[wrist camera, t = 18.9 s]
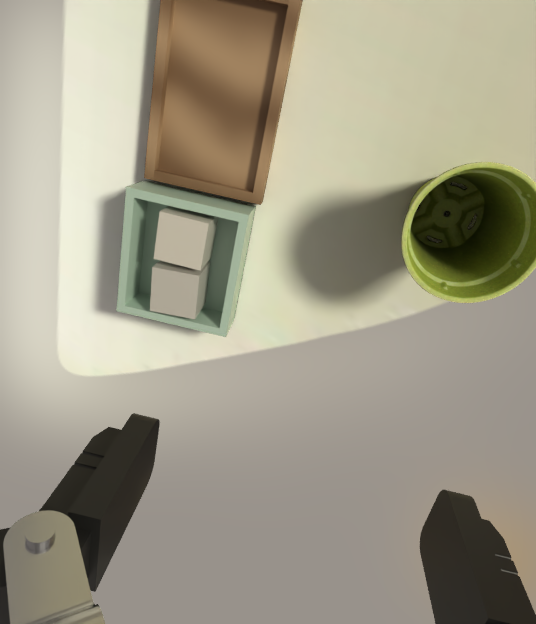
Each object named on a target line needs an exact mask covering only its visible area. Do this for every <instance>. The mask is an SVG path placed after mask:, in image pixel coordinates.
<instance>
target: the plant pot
mask: <svg viewBox="0 0 536 624" xmlns="http://www.w3.org/2000/svg"><path fill="white" fill-rule="evenodd" d="M452 182H456V183H459V184H460V183H462V184H464V185H465V186H466V187H467V189H466V190H463V189H461V188H459V187H456V186H451V185H450V183H452ZM423 199H424V200H423ZM422 200H423V201H422ZM421 202H422V203H421ZM420 203H421V205H420ZM419 205H420V208H419V211H418V212H416V210H417V208H418V206H419ZM445 211H449V212H450V215H449V216H448V217H445V216H444V212H445ZM474 214H476V215H477V217H476V222H475V224H474V226H473V227H472V228H471V229H470V230H469V229H467V227H468V226H469V224H470V222H471V221H472V219H473V217H474ZM427 236H431V237H433V238H435V239H439V240H442V242H440V243H436V242H432V241H430V240H428V238H427ZM401 248H402V254H403V259H404V262H405V264H406V267H407V269H408V271H409V273H410V275H411V276H412V278H413V279H414V280H415V281H416V283H417V284H418V285H419V286H421V287H422V288H423V289H424V290H425V291H427V292H428V293H430V294H432V295H434V296H436V297H438V298H441V299H444V300H447V301H451V302H457V303H474V302H481V301H485V300H489V299H493V298H495V297H498V296H500V295H503V294H504V293H506V292H508V291H510V290H512V289H513V288H515V287H516V286H518V285H519V284H520V283H521V282H523V281H524V280H525V279H526V278H527V277H528V276H529V275H530V274H531V272H532V271H533V270H534V269H535V268H536V183H535V182H534V181H533V180H532V179H531V178H530V177H529V176H528V175H526V174H525V173H523V172H521V171H520V170H518V169H516V168H513V167H511V166H508V165H504V164H500V163H493V162H477V163H470V164H465V165H462V166H458V167H455V168H453V169H451V170H448V171H446V172H444V173H443V174H441V175H439V176H438V177H436V178H434V179H432V180H430V181H428V182H427V183H425V184H424V185H423V186H422V187H421V188H420V189H419V190H418V191H417V192H416V194H415V195H414V196H413V198H412V200H411V203H410V205H409V210H408V212H407V215H406V217H405V221H404V224H403V229H402V237H401Z"/></svg>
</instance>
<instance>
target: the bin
mask: <svg viewBox="0 0 536 624" xmlns="http://www.w3.org/2000/svg"><path fill="white" fill-rule="evenodd" d="M168 206H172V207H177V208H181V209H185V210H190V211H194V212H198V213H203V214H207V215H211V216H216V217H219V219H218V224H217V230H216V235H215V241H214V246H213V252H212V257H211V258H210V260H209V261H208V262H210V270H209V279H208V288H207V297H206V303H205V305H204V306H203V308H202V309H201V311H200V312H199V314H198V315H197V317H196V319H190V318H185V317H180V316H175V315H169V314H164V313H159V312H154V311H150V298H151V281H152V267H153V266H154V265H155V264H156V263H158V262H159V261H160V260H157V259H154V251H155V243H156V236H157V228H158V220H159V213H160V211H161V210H163V209H164V208H166V207H168ZM255 209H256V206H253V205H249V204H245V203H240V202H236V201H231V200H227V199H223V198H218V197H214V196H210V195H205V194H201V193H197V192H192V191H188V190H184V189H179V188H175V187H171V186H166V185H162V184H157V183H153V182H149V181H141V182H138V183H136V184H133V185H130V186H127V187H126V195H125V208H124V221H123V234H122V247H121V259H120V272H119V285H118V298H117V311H118V312H122V313H126V314H130V315H135V316H139V317H143V318H147V319H152V320H156V321H160V322H164V323H168V324H173V325H177V326H181V327H185V328H189V329H194V330H198V331H202V332H206V333H210V334H215V335H219V336H223V337H226V336H227V334H228V332H229V329H230V327H231V325H232V323H233V321H234V318H235V312H236V307H237V302H238V297H239V292H240V286H241V281H242V276H243V271H244V266H245V260H246V255H247V250H248V245H249V240H250V234H251V229H252V224H253V219H254V214H255Z"/></svg>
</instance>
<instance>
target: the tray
mask: <svg viewBox="0 0 536 624" xmlns="http://www.w3.org/2000/svg"><path fill="white" fill-rule="evenodd" d="M302 1H303V0H161V1H160V12H159V23H158V34H157V44H156V55H155V66H154V77H153V88H152V98H151V109H150V120H149V131H148V142H147V152H146V163H145V174H144V178H146V179H150V180H155V181H159V182H164V183H168V184H172V185H177V186H181V187H185V188H190V189H194V190H198V191H203V192H207V193H211V194H216V195H220V196H225V197H229V198H233V199H238V200H242V201H246V202H251V203H255V204H259V205H261V203H262V202H263V198H264V193H265V188H266V183H267V178H268V172H269V167H270V162H271V157H272V152H273V147H274V142H275V137H276V132H277V127H278V122H279V117H280V112H281V107H282V102H283V97H284V92H285V87H286V81H287V76H288V71H289V66H290V61H291V56H292V51H293V46H294V41H295V36H296V31H297V26H298V21H299V16H300V11H301V6H302Z"/></svg>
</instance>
